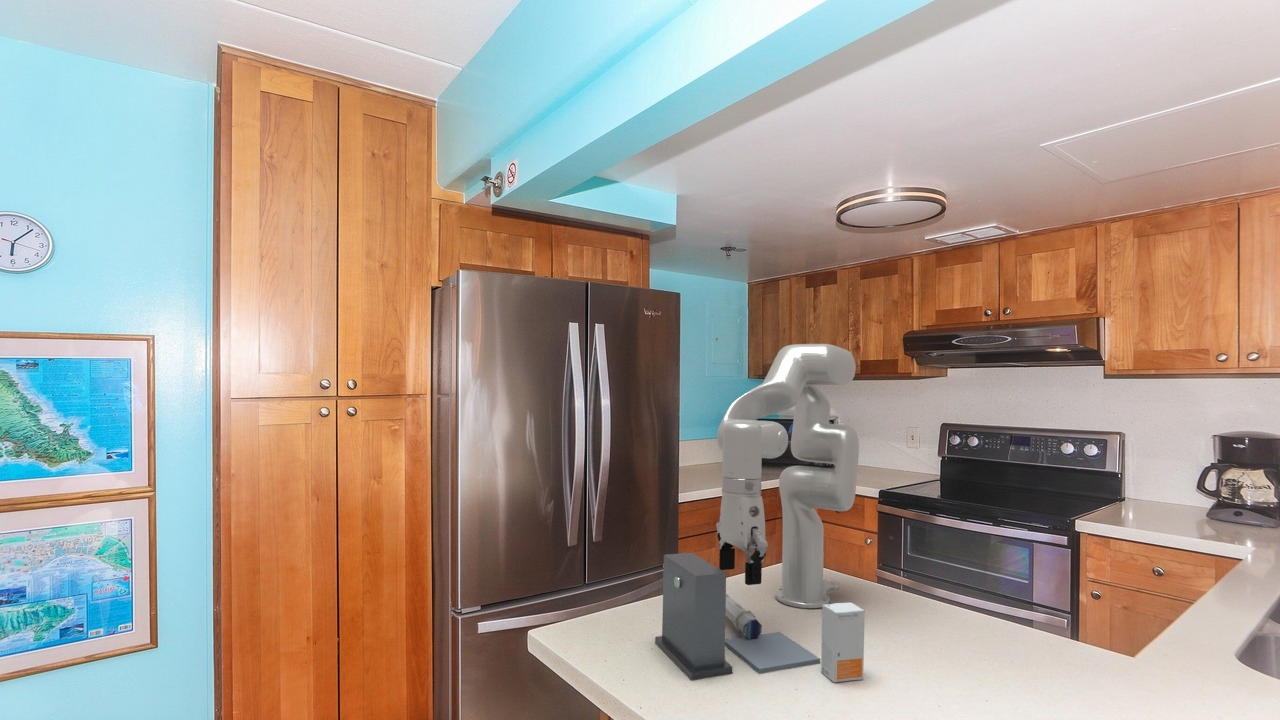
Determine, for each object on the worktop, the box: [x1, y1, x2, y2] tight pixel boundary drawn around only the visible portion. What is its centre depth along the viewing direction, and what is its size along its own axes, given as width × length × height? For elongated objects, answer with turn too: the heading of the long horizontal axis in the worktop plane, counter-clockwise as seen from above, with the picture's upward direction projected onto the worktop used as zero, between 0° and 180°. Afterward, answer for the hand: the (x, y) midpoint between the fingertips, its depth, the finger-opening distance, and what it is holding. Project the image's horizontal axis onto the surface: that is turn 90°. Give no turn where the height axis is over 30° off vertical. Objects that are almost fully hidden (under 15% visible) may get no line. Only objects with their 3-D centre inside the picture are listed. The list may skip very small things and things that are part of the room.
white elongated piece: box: [726, 593, 763, 640], centre depth 132 cm, size 5×7×25 cm
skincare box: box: [820, 602, 865, 683], centre depth 108 cm, size 6×4×12 cm
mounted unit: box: [654, 552, 733, 681], centre depth 114 cm, size 8×16×17 cm, turn 21°
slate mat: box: [725, 631, 821, 674], centre depth 116 cm, size 13×13×1 cm
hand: (739, 576), depth 117 cm, fingers open, 9 cm apart
